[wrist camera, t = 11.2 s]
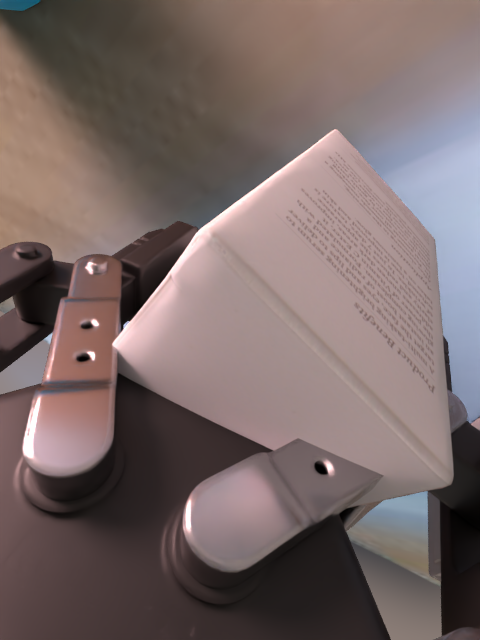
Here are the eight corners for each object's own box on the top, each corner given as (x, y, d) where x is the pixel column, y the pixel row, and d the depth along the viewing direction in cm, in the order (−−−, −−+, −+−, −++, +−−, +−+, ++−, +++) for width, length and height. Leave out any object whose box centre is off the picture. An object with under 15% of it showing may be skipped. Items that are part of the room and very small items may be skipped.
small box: (291, 338, 19) (192, 547, 11) (211, 258, 18) (40, 421, 10) (441, 238, 13) (467, 500, 6) (338, 121, 13) (196, 228, 5)
